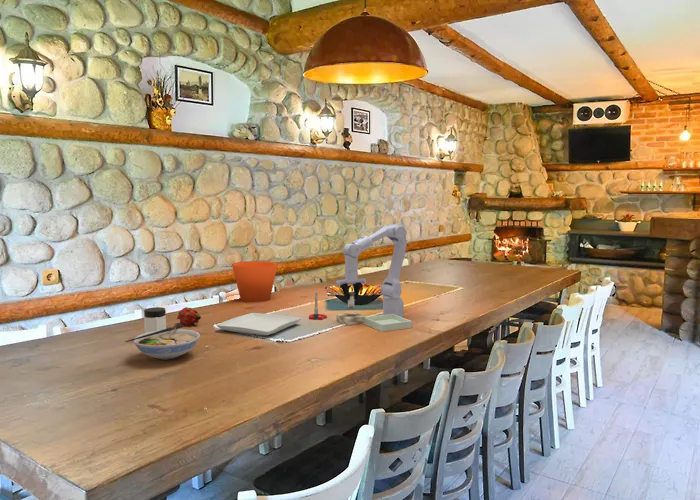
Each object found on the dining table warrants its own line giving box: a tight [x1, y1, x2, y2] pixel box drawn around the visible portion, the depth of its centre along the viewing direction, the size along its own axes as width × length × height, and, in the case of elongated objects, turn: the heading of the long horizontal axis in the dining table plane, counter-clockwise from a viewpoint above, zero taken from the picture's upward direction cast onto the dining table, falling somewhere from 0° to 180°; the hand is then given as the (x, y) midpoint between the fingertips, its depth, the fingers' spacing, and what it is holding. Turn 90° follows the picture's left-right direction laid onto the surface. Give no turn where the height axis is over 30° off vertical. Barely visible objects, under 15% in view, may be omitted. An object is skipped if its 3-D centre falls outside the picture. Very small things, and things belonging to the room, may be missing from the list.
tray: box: [363, 314, 413, 333], centre depth 243 cm, size 16×16×3 cm
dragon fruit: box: [176, 306, 202, 327], centre depth 243 cm, size 8×8×12 cm
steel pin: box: [347, 291, 356, 309], centre depth 249 cm, size 4×4×7 cm
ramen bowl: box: [124, 324, 201, 361], centre depth 196 cm, size 25×23×8 cm
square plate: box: [215, 312, 302, 336], centre depth 238 cm, size 27×27×4 cm
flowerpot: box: [231, 260, 279, 303], centre depth 300 cm, size 25×25×20 cm
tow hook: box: [308, 291, 328, 321], centre depth 259 cm, size 8×13×9 cm
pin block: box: [336, 311, 367, 326], centre depth 250 cm, size 10×10×3 cm
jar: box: [143, 306, 167, 333], centre depth 220 cm, size 9×8×12 cm
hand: (351, 299), depth 249 cm, fingers closed on steel pin, 4 cm apart
